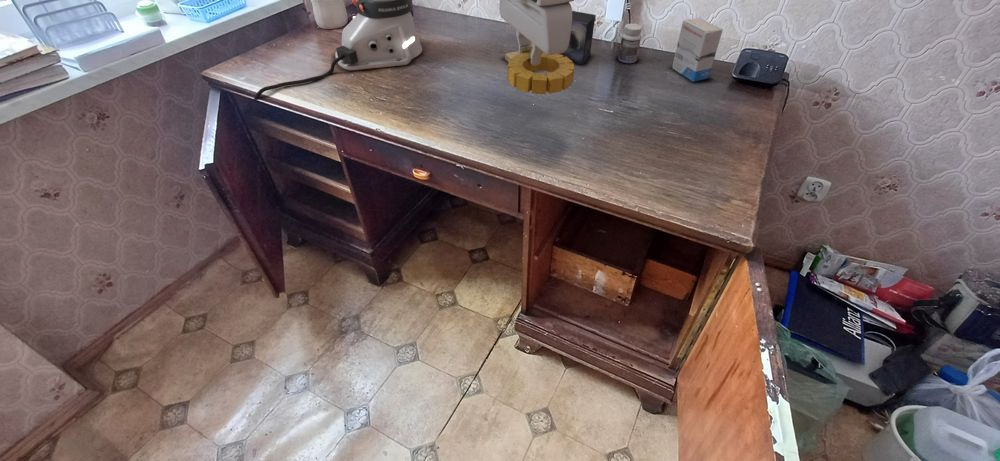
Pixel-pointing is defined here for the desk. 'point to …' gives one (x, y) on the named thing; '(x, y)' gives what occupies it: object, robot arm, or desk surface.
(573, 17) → the small box
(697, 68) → the ink box
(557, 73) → the ring
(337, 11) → the cup
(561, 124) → the desk surface
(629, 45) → the pill bottle
